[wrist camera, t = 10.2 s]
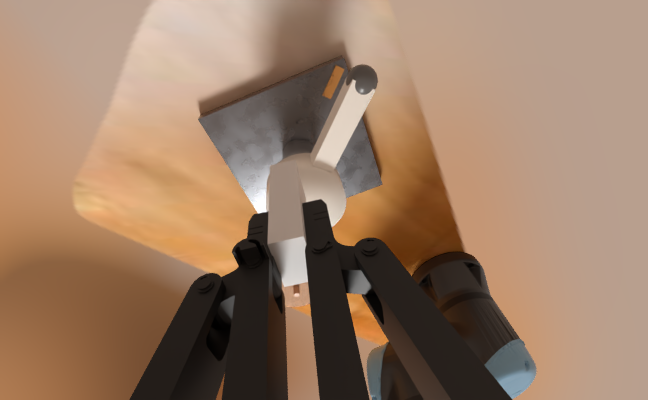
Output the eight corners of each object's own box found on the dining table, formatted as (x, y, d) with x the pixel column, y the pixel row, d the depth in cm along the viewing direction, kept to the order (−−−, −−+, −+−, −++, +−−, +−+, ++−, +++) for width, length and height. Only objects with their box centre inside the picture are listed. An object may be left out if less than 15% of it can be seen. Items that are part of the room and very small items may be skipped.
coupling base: (380, 179, 51) (398, 215, 44) (267, 221, 53) (265, 262, 46) (342, 55, 40) (357, 74, 32) (200, 115, 42) (183, 146, 34)
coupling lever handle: (322, 222, 42) (326, 243, 39) (256, 204, 39) (255, 225, 36) (401, 79, 33) (415, 91, 29) (323, 41, 30) (329, 49, 26)
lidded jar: (286, 281, 62) (288, 323, 55) (252, 250, 57) (248, 292, 49) (333, 257, 60) (341, 297, 53) (302, 222, 54) (306, 262, 47)
